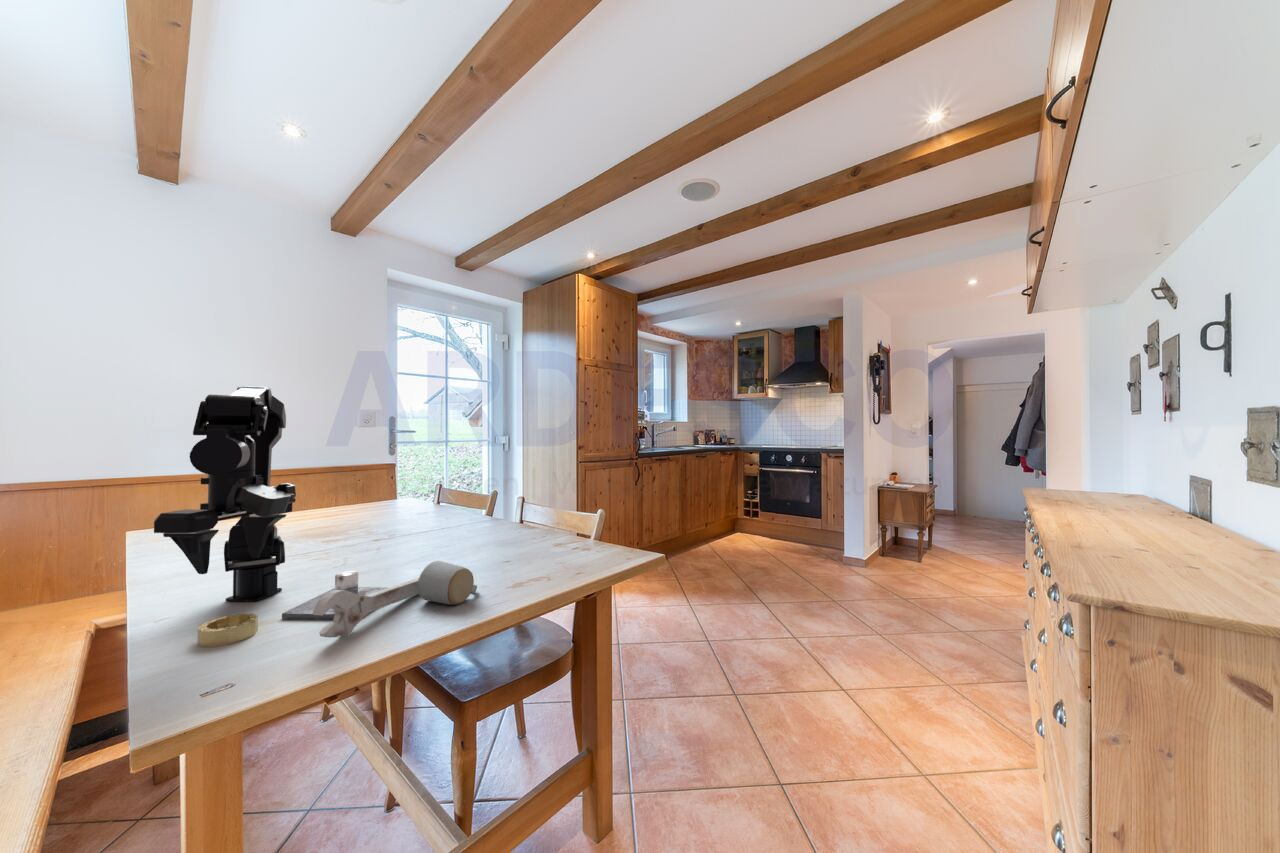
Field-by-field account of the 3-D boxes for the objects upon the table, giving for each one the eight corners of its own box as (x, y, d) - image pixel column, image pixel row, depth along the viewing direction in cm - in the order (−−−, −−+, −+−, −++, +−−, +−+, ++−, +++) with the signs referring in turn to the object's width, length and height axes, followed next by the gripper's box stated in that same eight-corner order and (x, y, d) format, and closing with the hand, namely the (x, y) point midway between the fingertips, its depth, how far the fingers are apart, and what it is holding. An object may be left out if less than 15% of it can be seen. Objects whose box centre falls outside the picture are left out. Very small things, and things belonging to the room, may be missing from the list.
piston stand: (281, 619, 80) (282, 585, 80) (336, 591, 94) (336, 563, 94) (358, 619, 80) (358, 586, 80) (401, 592, 94) (402, 563, 94)
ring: (185, 646, 70) (186, 631, 70) (228, 627, 77) (228, 613, 77) (229, 646, 70) (229, 631, 70) (267, 627, 77) (268, 613, 77)
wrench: (434, 601, 97) (318, 651, 67) (426, 600, 97) (307, 650, 68) (436, 563, 98) (324, 595, 69) (429, 562, 98) (313, 595, 69)
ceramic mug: (449, 611, 84) (450, 570, 84) (416, 605, 86) (417, 566, 87) (487, 593, 94) (487, 556, 94) (456, 589, 96) (456, 553, 97)
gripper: (226, 475, 64) (224, 584, 64) (321, 466, 83) (320, 550, 83) (151, 475, 65) (149, 584, 64) (262, 466, 83) (261, 550, 83)
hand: (230, 565), depth 74 cm, fingers open, 9 cm apart
